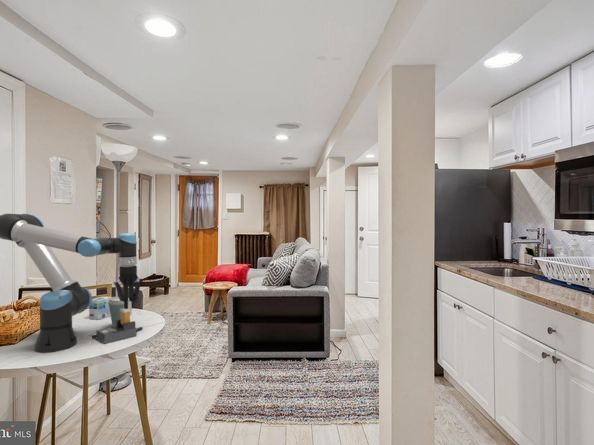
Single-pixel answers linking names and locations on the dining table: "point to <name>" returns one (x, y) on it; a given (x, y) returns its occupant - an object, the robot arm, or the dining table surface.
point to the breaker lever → (124, 315)
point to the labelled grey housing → (117, 332)
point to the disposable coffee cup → (115, 309)
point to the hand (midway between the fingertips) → (128, 314)
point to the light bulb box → (99, 308)
